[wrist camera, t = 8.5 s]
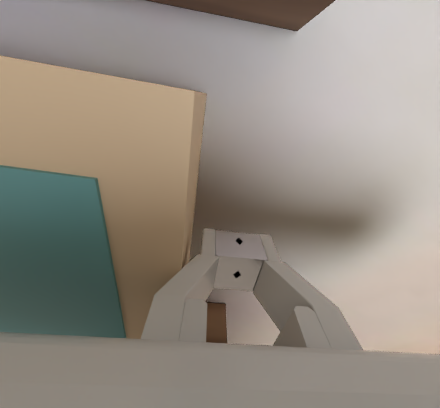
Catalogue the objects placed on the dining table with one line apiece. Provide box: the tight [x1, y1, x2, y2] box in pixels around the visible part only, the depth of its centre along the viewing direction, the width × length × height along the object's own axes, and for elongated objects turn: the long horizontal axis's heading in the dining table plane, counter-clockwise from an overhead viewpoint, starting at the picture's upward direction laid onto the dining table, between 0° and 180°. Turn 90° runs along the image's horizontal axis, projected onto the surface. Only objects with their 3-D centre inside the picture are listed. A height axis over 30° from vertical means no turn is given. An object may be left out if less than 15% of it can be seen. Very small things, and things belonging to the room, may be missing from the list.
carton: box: [0, 56, 207, 339], centre depth 8 cm, size 12×10×5 cm
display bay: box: [148, 0, 335, 343], centre depth 9 cm, size 18×15×3 cm
